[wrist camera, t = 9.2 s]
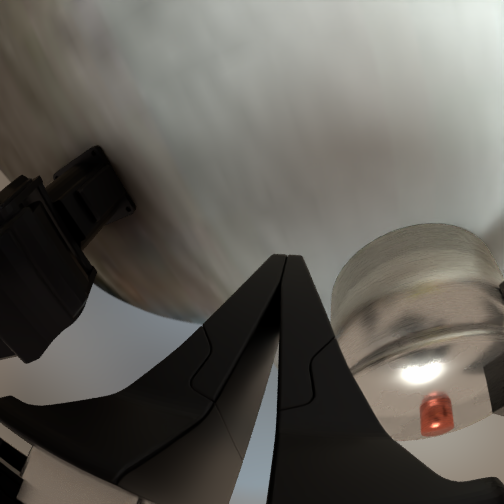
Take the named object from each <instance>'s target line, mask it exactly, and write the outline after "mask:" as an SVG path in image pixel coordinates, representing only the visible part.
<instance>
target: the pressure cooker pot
mask: <svg viewBox="0 0 504 504" xmlns="http://www.w3.org/2000/svg"><path fill="white" fill-rule="evenodd" d="M470 324H491V325H497V326H502V327H504V277H503V275H502V273H501V271H500V269H499V267H498V265H497V263H496V261H495V259H494V257H493V256H492V254H491V252H490V250H489V249H488V247H487V246H486V245H485V243H484V242H483V241H482V240H481V239H480V238H478V237H477V236H476V235H474V234H473V233H471V232H469V231H467V230H465V229H462V228H459V227H456V226H452V225H446V224H420V225H414V226H409V227H405V228H402V229H399V230H396V231H393V232H390V233H388V234H386V235H384V236H381V237H379V238H378V239H376V240H374V241H373V242H371V243H369V244H368V245H366V246H365V247H364V248H362V249H361V250H360V251H358V252H357V253H356V254H355V255H354V256H353V257H352V258H351V259H350V260H349V261H348V262H347V264H346V265H345V266H344V267H343V269H342V270H341V272H340V274H339V275H338V277H337V279H336V281H335V284H334V286H333V291H332V296H331V326H332V329H333V331H334V334H335V336H336V339H337V341H338V343H339V346H340V349H341V351H342V353H343V356H344V358H345V360H346V362H347V365H348V367H349V369H350V368H351V367H352V366H353V365H355V364H356V363H357V362H359V361H360V360H362V359H364V358H365V357H367V356H368V355H370V354H372V353H374V352H376V351H378V350H380V349H382V348H384V347H386V346H389V345H391V344H393V343H396V342H398V341H401V340H404V339H406V338H409V337H412V336H415V335H419V334H422V333H425V332H429V331H433V330H437V329H442V328H446V327H453V326H459V325H470Z"/></svg>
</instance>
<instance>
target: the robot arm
mask: <svg viewBox="0 0 504 504" xmlns="http://www.w3.org/2000/svg"><path fill="white" fill-rule="evenodd" d="M94 151H95V152H96V154H95V152H94ZM53 178H54V181H53V182H52V183H51V184H49V185H48V186H47V187H46V188H45V187H44V185H43V183H42V182H43V181H42V179H41V177H40V176H38V177H36V178H34V179H30V178H29V179H28V178H27V177H25V176H23V175H21V176H19V177H18V178H16V179H15V180H14V181H13V182H11V183H10V184H9V185H7V186H6V187H5V188H4V189H3V190H2V191H0V360H2V359H6V358H11V357H16V356H18V357H19V358H20V359H21V360H22V361H23V362H24V363H26V364H27V363H30V362H32V361H35V360H37V359H39V358H40V356H41V355H42V354H43V353H44V351H45V350H46V349H47V348H48V346H49V345H50V344H51V342H52V341H53V340H54V339H55V338H56V337H57V336H58V335H59V334H60V333H61V332H62V331H63V330H64V329H66V328H67V327H69V326H70V325H71V324H73V323H74V322H75V321H76V319H77V318H78V317H79V316H80V314H81V313H82V311H83V309H84V307H85V304H86V301H87V298H88V296H89V293H90V290H91V287H92V285H93V282H94V279H95V276H96V274H97V271H96V269H95V268H94V266H92V265H91V264H90V262H89V261H88V259H87V258H86V256H85V255H84V253H83V252H82V251H83V250H84V248H85V247H86V246H87V245H88V244H89V242H90V241H91V240H92V239H93V238H94V237H95V235H96V234H97V233H98V232H99V231H100V230H101V229H102V227H103V226H104V225H107V224H109V223H111V222H114V221H116V220H118V219H121V218H123V217H126V216H128V215H130V214H132V213H133V212H134V211H135V209H136V207H135V204H134V203H133V201H132V200H131V198H130V196H129V195H128V193H127V192H126V190H125V188H124V187H123V185H122V184H121V182H120V180H119V179H118V177H117V175H116V174H115V172H114V170H113V169H112V167H111V165H110V164H109V162H108V160H107V159H106V157H105V155H104V154H103V152H102V150H101V149H100V147H98V146H93V147H92V148H90V149H89V150H87V151H86V152H84V153H83V154H81V155H80V156H79V157H77V158H76V159H74V160H73V161H71V162H70V163H69V164H67V165H66V166H64V167H63V168H62V169H60V170H59V171H58V172H56V173H55V174H54V176H53ZM128 207H130V208H131V209H129V208H128ZM278 343H279V364H278V392H277V394H278V395H277V417H276V433H275V442H274V451H273V458H272V465H271V473H270V480H269V488H268V495H267V502H266V504H504V484H503V483H502V482H501V481H500V480H499V479H498V478H497V477H488V478H481V479H476V480H471V481H464V482H457V481H451V480H448V479H445V478H443V477H441V476H439V475H438V474H436V473H435V472H434V471H432V470H431V469H430V468H429V467H427V466H426V465H425V464H424V463H422V462H421V461H420V460H418V459H417V458H416V457H415V456H413V455H412V454H411V453H410V452H409V451H407V450H406V449H405V448H404V447H402V446H401V445H400V444H398V443H397V442H396V441H395V440H394V439H393V438H392V437H391V436H390V435H389V434H388V433H387V432H386V431H385V429H384V428H383V427H382V425H381V424H380V422H379V420H378V419H377V417H376V415H375V414H374V412H373V410H372V408H371V407H370V405H369V403H368V401H367V399H366V398H365V396H364V394H363V392H362V391H361V389H360V387H359V385H358V384H357V382H356V380H355V378H354V376H353V374H352V372H351V370H350V369H349V367H348V365H347V362H346V360H345V358H344V356H343V353H342V351H341V349H340V346H339V343H338V341H337V339H336V336H335V334H334V331H333V329H332V326H331V324H330V321H329V319H328V316H327V314H326V311H325V309H324V306H323V304H322V302H321V299H320V297H319V294H318V292H317V289H316V287H315V285H314V282H313V280H312V277H311V275H310V273H309V270H308V268H307V266H306V263H305V261H304V259H303V257H302V256H301V255H288V257H287V255H285V254H273V255H271V256H270V257H269V258H268V259H267V260H266V261H265V262H264V263H263V264H262V265H261V266H260V267H259V269H258V270H257V271H256V272H255V273H254V274H253V275H252V276H251V277H250V278H249V279H248V280H247V281H246V282H245V283H244V284H243V285H242V286H241V287H240V288H239V289H238V290H237V291H236V292H235V293H234V294H233V295H232V296H231V297H230V298H229V299H228V300H227V301H226V302H225V303H224V304H223V305H222V306H221V307H220V308H219V309H218V310H217V311H216V312H215V313H214V314H213V315H212V316H211V317H210V318H209V319H208V320H207V321H206V322H205V323H204V324H203V327H202V326H201V327H199V328H198V329H197V330H196V331H195V332H194V333H193V334H192V335H191V336H190V337H189V338H188V339H187V340H186V341H185V342H184V343H183V344H182V345H181V346H180V347H178V348H177V349H176V350H175V351H173V352H172V353H171V354H170V355H169V356H167V357H166V358H165V359H164V360H162V361H161V362H160V363H159V364H157V365H156V366H155V367H153V368H152V369H151V370H150V371H148V372H147V373H146V374H144V375H143V376H142V377H140V378H139V379H138V380H136V381H135V382H134V383H132V384H131V385H130V386H128V387H127V388H125V389H123V390H121V391H119V392H117V393H115V394H112V395H108V396H103V397H98V398H92V399H86V400H80V401H74V402H68V403H61V404H54V405H44V406H38V405H30V404H26V403H24V402H22V401H20V400H19V399H16V398H15V397H13V396H6V397H2V398H0V423H2V424H3V425H4V426H6V427H7V428H8V429H10V430H11V431H12V432H14V433H15V434H17V435H18V436H19V437H21V438H22V439H24V440H25V441H26V442H28V443H29V444H31V445H32V448H31V450H30V452H29V454H28V456H26V455H25V454H23V453H22V452H20V451H19V450H17V449H16V448H15V447H13V446H12V445H10V444H9V443H8V442H6V441H5V440H3V439H2V438H0V504H229V501H230V498H231V495H232V493H233V490H234V487H235V484H236V481H237V478H238V475H239V472H240V469H241V466H242V463H243V460H244V457H245V454H246V450H247V447H248V444H249V441H250V438H251V435H252V432H253V428H254V425H255V422H256V419H257V415H258V412H259V409H260V405H261V402H262V399H263V395H264V392H265V388H266V385H267V382H268V378H269V375H270V371H271V368H272V364H273V361H274V357H275V354H276V350H277V347H278Z"/></svg>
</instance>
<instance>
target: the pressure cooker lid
mask: <svg viewBox="0 0 504 504" xmlns="http://www.w3.org/2000/svg"><path fill="white" fill-rule="evenodd" d="M350 370H351V372H352V374H353V376H354V378H355V380H356V382H357V384H358V385H359V387H360V389H361V391H362V392H363V394H364V396H365V398H366V399H367V401H368V403H369V405H370V407H371V408H372V410H373V412H374V414H375V415H376V417H377V419H378V420H379V422H380V424H381V425H382V427H383V428H384V429H385V431H386V432H387V433H388V434H389V435H390V436H391V437H392V438H393V439H394V440H395V441H408V440H418V439H425V438H430V437H435V436H440V435H443V434H447V433H450V432H454V431H457V430H460V429H462V428H465V427H467V426H470V425H472V424H474V423H476V422H478V421H480V420H482V419H484V418H486V417H488V416H490V415H491V414H493V413H494V414H498V415H501V416H504V327H502V326H497V325H491V324H470V325H459V326H453V327H446V328H442V329H437V330H433V331H429V332H425V333H422V334H419V335H415V336H412V337H409V338H406V339H404V340H401V341H398V342H396V343H393V344H391V345H389V346H386V347H384V348H382V349H380V350H378V351H376V352H374V353H372V354H370V355H368V356H367V357H365V358H364V359H362V360H360V361H359V362H357V363H356V364H355V365H353V366H352V367H351V368H350Z"/></svg>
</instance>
